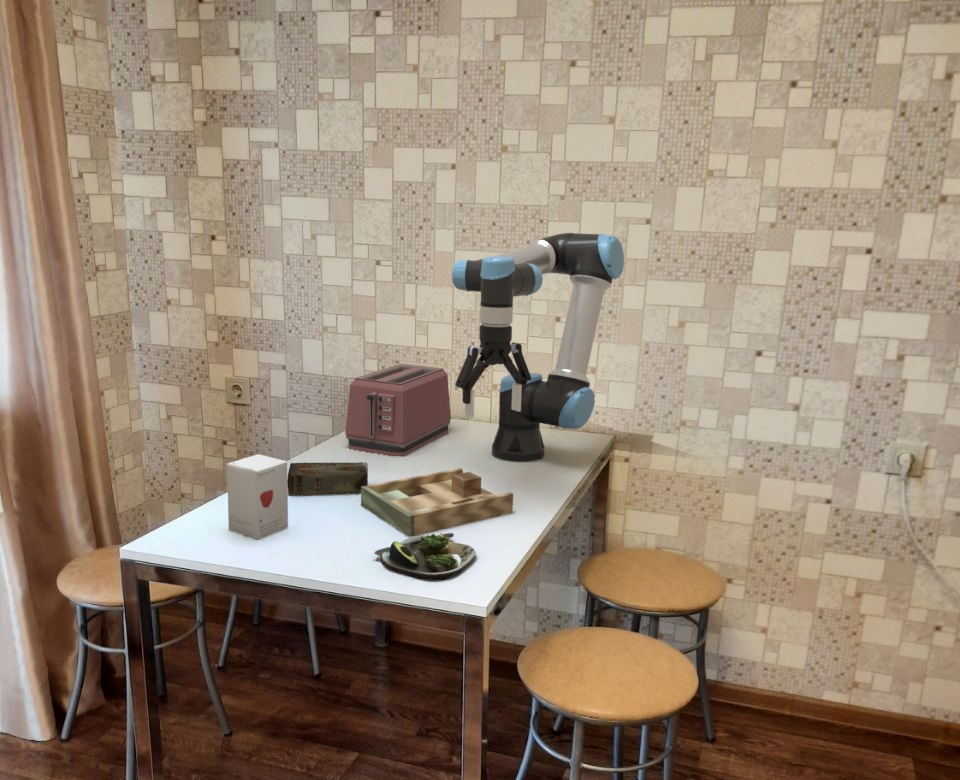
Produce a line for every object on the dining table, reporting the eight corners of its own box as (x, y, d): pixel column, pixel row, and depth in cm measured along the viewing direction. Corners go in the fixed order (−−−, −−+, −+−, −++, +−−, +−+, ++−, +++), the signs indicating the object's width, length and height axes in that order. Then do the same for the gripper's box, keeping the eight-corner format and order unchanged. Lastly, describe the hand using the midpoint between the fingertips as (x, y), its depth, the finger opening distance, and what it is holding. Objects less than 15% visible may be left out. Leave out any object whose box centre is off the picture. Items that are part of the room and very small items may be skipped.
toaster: (339, 450, 230) (339, 380, 225) (398, 424, 260) (399, 361, 256) (398, 460, 222) (399, 387, 218) (452, 432, 253) (453, 367, 248)
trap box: (459, 485, 203) (460, 468, 202) (512, 512, 186) (513, 493, 185) (360, 505, 187) (360, 486, 186) (408, 536, 170) (408, 516, 169)
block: (468, 487, 194) (469, 471, 193) (480, 493, 190) (481, 477, 189) (451, 491, 191) (451, 474, 190) (463, 497, 187) (463, 480, 186)
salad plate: (419, 533, 173) (419, 512, 172) (492, 551, 165) (493, 530, 164) (364, 566, 156) (364, 543, 155) (443, 588, 148) (444, 564, 147)
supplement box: (257, 541, 166) (255, 471, 162) (227, 531, 170) (225, 463, 167) (289, 527, 173) (288, 460, 170) (260, 518, 178) (258, 452, 175)
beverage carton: (368, 495, 195) (368, 469, 193) (287, 497, 192) (286, 471, 190) (367, 484, 203) (367, 459, 201) (289, 486, 199) (288, 461, 198)
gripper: (528, 319, 197) (525, 404, 201) (441, 325, 183) (439, 416, 187) (548, 323, 191) (544, 410, 195) (459, 329, 177) (457, 423, 181)
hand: (493, 413), depth 191 cm, fingers open, 13 cm apart
